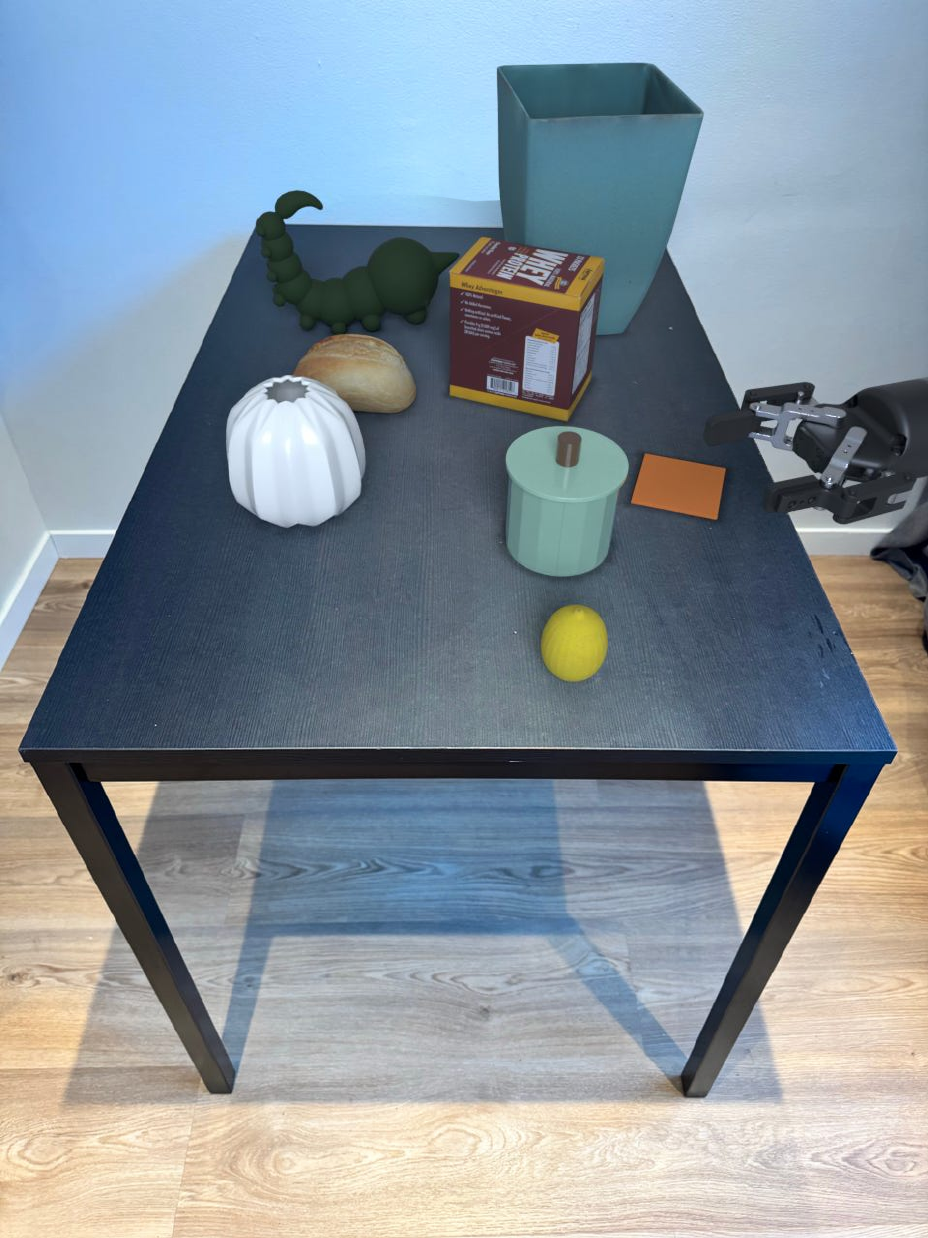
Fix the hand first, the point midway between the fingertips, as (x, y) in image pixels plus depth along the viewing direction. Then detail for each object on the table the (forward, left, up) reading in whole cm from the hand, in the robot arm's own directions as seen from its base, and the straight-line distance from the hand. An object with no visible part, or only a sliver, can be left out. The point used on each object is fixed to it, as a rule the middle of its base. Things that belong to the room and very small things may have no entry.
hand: (735, 464), depth 64 cm
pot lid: (+14, -11, -11) cm, 21 cm away
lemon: (+9, +6, -20) cm, 23 cm away
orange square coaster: (+3, -24, -20) cm, 31 cm away
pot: (+14, -11, -20) cm, 27 cm away
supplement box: (+25, -38, -20) cm, 50 cm away
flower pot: (+23, -58, -20) cm, 65 cm away
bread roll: (+43, -28, -20) cm, 55 cm away
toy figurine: (+49, -47, -20) cm, 71 cm away
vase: (+41, -9, -20) cm, 46 cm away
